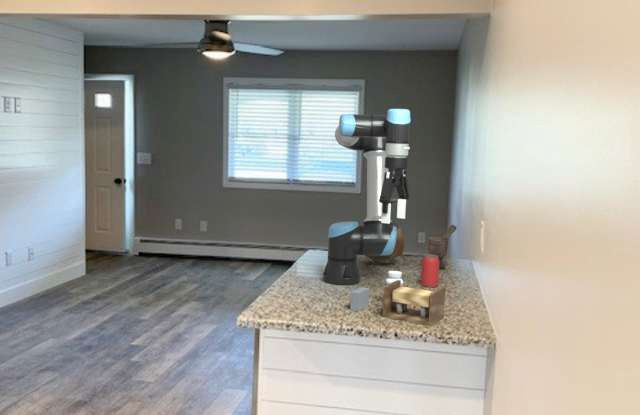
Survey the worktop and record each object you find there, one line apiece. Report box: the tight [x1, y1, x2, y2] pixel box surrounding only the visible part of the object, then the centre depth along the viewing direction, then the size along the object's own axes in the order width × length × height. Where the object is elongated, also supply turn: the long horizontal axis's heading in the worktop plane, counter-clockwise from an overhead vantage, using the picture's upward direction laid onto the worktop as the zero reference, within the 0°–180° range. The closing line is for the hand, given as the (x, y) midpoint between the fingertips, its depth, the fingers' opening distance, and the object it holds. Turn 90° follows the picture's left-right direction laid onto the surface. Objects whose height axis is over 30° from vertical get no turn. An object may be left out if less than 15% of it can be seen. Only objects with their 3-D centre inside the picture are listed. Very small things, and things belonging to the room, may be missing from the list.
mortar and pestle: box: [428, 224, 458, 269], centre depth 269 cm, size 12×9×20 cm
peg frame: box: [382, 280, 446, 327], centre depth 191 cm, size 16×11×10 cm
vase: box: [364, 197, 405, 265], centre depth 272 cm, size 23×19×30 cm
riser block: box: [349, 286, 370, 312], centre depth 201 cm, size 3×8×6 cm, turn 151°
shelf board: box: [392, 286, 435, 308], centre depth 191 cm, size 12×7×4 cm, turn 61°
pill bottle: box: [384, 270, 404, 287], centre depth 206 cm, size 6×6×11 cm
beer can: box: [420, 253, 440, 288], centre depth 235 cm, size 7×7×12 cm
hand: (393, 220), depth 200 cm, fingers open, 13 cm apart
